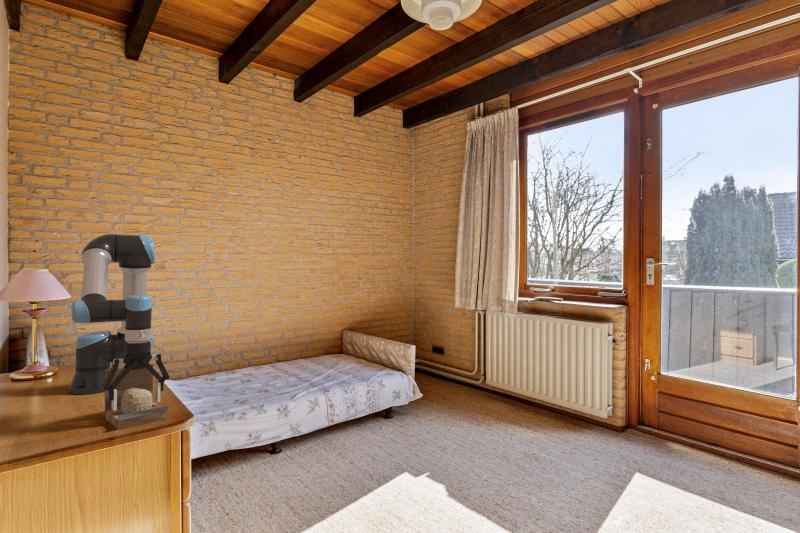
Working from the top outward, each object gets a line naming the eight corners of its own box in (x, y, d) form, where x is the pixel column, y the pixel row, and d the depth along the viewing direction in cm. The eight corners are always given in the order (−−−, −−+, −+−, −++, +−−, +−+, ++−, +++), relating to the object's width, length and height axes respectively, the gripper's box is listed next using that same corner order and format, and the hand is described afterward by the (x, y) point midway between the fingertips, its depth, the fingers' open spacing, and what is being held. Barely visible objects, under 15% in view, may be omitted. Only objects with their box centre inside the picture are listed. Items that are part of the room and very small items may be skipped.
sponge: (139, 416, 145) (122, 392, 145) (163, 400, 146) (147, 377, 146) (123, 426, 136) (106, 401, 136) (149, 409, 137) (131, 384, 136)
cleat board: (104, 417, 141) (105, 369, 142) (150, 407, 152) (151, 363, 152) (118, 430, 130) (119, 379, 130) (167, 419, 140) (168, 371, 141)
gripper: (97, 347, 129) (95, 417, 129) (180, 338, 147) (179, 399, 147) (91, 344, 134) (89, 411, 134) (172, 336, 152) (171, 395, 152)
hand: (136, 405), depth 141 cm, fingers open, 12 cm apart
